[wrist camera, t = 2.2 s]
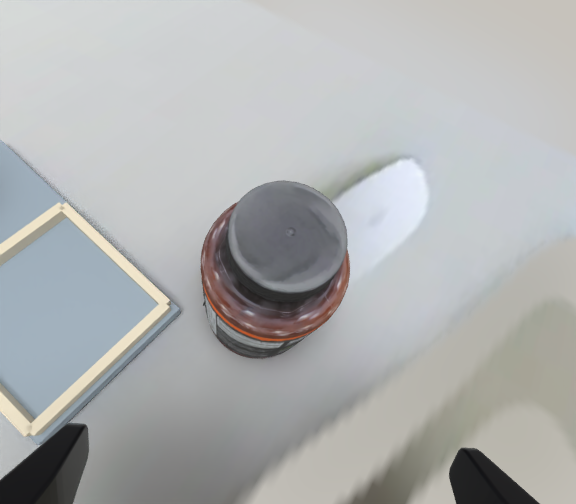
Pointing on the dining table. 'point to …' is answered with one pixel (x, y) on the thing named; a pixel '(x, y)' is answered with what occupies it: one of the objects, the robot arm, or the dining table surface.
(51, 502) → the robot arm
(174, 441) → the dining table surface
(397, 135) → the dining table surface
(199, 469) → the dining table surface
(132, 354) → the board
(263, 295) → the supplement bottle
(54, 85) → the dining table surface
